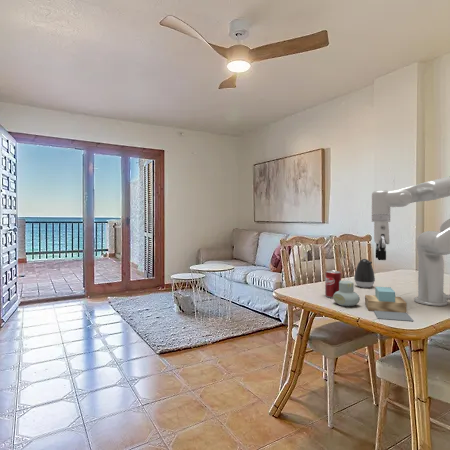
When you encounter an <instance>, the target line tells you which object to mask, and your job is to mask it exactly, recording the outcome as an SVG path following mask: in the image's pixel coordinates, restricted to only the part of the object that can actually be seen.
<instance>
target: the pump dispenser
mask: <svg viewBox="0 0 450 450" xmlns="http://www.w3.org/2000/svg"><path fill="white" fill-rule="evenodd" d="M372 264H373V261H370V260H369V259H366V258H362V259H360V260H359V261H358V263H357V266H356V269H355V273H354V278H353V279H354V282H355V284H356V286H358V287H360V288H362V289H363V288H364V289H367V288H368V289H369V288H372V287H373V286H374V285H375V282H376V278H375V277H376V276H375V271H374V267H373V265H372Z"/></svg>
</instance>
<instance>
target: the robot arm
mask: <svg viewBox="0 0 450 450" xmlns="http://www.w3.org/2000/svg"><path fill="white" fill-rule="evenodd" d="M448 197H450V176H449V175H448V176H445V177H440V178H436V179H431V180H428V181H425V182H421V183H418V184H415V185H411V186H407V187H404V188H400V189H399V188H398V189H395V190H374V191H373V192H372V193H371V222H372V223H373V225H374V226H373V227H374V229H373V238H374V241H373V242H374V243H375V258H376V259H377V260H378V261H386V260H387V247H386V246H387V245H390V224H389V223H390V222H391V208H403V207H406V206H408V205H410V204H413V203H418V202H428V201H436V200H438V199H443V198H448ZM439 227H440V228H439V231H434V230H426V231H424V232H422V233H420V234H419V235H418V236H417V239H416V250H417V256H418V258H417V259H418V260H417V261H418V264H417V265H418V266H417V267H418V269H417V270H418V272H417V274H418V276H417V277H418V278H417V280H418V281H417V285H418V287H417V288H418V289H417V290H418V291H417V296H414V297H413V298H414V299H413V301H414V302H415V303H418V304H421V305H426V306H433V307H444V306H447V305H448V303H449V302H448V301H449V300H450V294H446V293H445V291H444V289H445V288H444V285H445V283H444V282H445V281H444V276H445V274H444V273H445V272H444V271H445V270H444V269H445V261H444V256H447V255H450V218H449V219H447V220H445V221H444V222H443V223H441V225H440V226H439Z"/></svg>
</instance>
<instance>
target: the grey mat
mask: <svg viewBox="0 0 450 450" xmlns="http://www.w3.org/2000/svg"><path fill="white" fill-rule="evenodd" d="M373 313H374V315H375V317H376V318H377V320H385V321H386V320H388V321H389V320H390V321H401V322H413V321H414V319H413V318H412V317H411V316H410V315H409V314H408V312H407V313H403V312H388V311H373Z"/></svg>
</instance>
